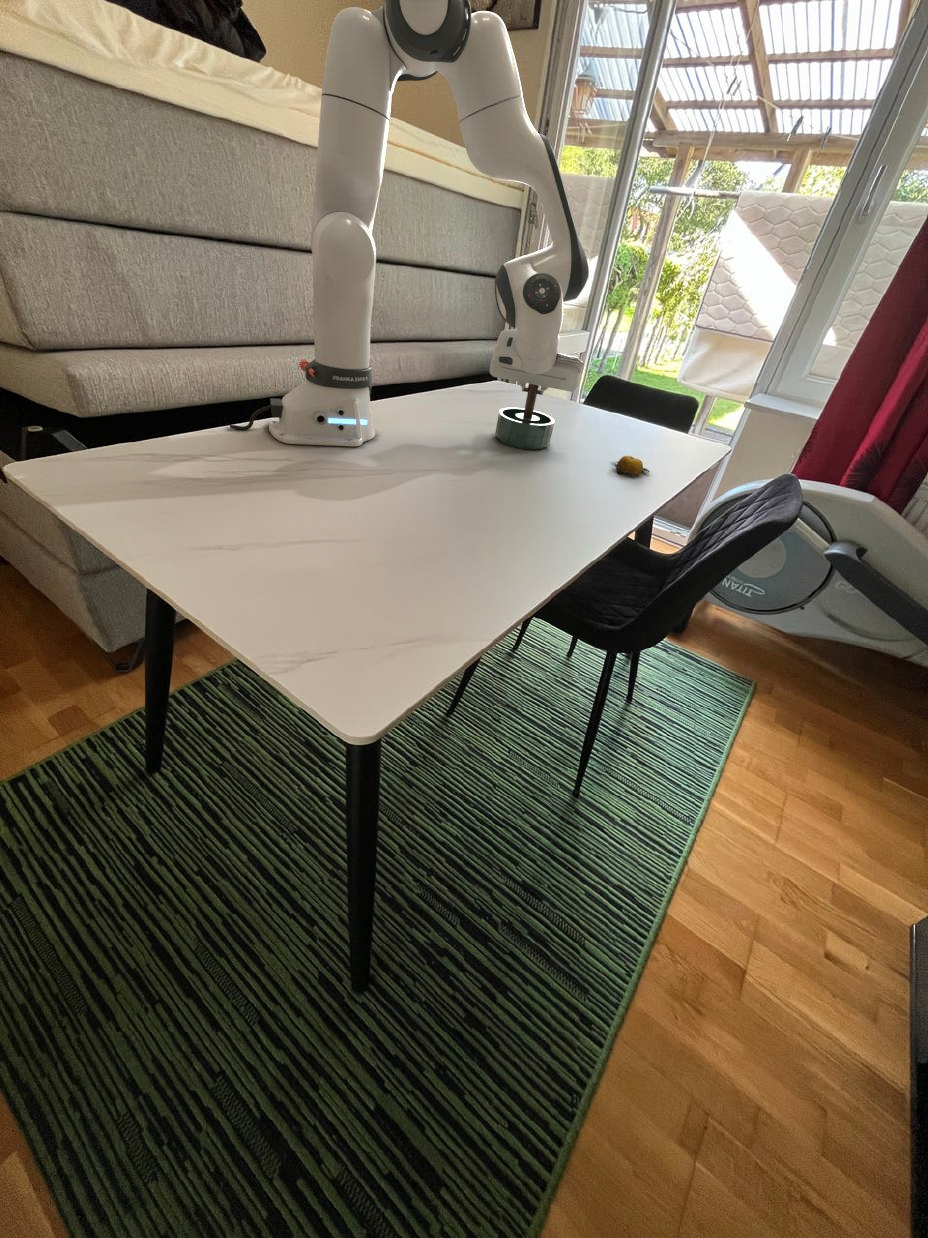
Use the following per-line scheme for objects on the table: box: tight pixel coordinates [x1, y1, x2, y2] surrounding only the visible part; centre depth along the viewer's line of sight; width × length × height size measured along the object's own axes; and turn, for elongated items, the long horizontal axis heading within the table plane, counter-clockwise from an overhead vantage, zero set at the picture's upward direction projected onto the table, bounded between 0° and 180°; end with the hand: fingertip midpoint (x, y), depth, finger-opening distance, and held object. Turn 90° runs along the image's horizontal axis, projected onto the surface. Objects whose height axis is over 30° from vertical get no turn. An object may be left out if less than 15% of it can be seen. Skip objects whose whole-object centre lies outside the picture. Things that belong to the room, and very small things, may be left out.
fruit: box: [614, 455, 651, 477], centre depth 119 cm, size 8×8×4 cm
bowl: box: [494, 407, 555, 451], centre depth 127 cm, size 14×14×6 cm
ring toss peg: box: [515, 384, 540, 424], centre depth 122 cm, size 6×6×16 cm
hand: (532, 390), depth 122 cm, fingers closed on ring toss peg, 2 cm apart
